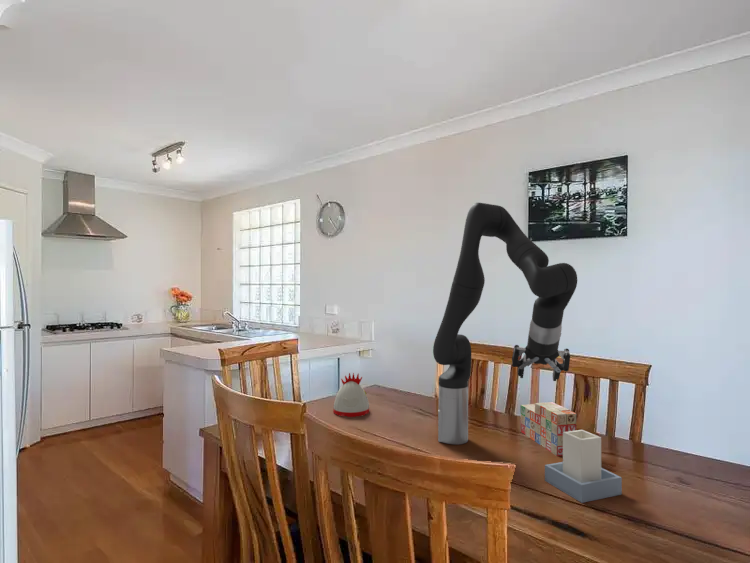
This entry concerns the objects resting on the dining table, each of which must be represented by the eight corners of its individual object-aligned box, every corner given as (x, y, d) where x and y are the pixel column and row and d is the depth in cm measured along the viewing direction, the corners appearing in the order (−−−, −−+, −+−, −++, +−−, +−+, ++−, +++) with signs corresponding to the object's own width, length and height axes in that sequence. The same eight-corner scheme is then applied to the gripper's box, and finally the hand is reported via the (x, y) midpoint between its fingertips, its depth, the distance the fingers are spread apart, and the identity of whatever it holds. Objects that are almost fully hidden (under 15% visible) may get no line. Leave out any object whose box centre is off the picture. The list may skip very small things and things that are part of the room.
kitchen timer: (368, 417, 166) (368, 376, 166) (331, 417, 167) (331, 376, 167) (369, 406, 180) (369, 369, 180) (335, 406, 180) (335, 369, 181)
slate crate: (581, 502, 101) (581, 485, 101) (544, 480, 113) (544, 464, 113) (621, 494, 105) (621, 477, 105) (582, 473, 117) (582, 458, 117)
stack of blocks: (520, 432, 150) (520, 395, 150) (537, 431, 151) (537, 394, 151) (557, 456, 129) (557, 413, 129) (576, 455, 130) (576, 412, 130)
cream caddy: (581, 491, 105) (581, 440, 105) (562, 480, 111) (562, 432, 111) (601, 487, 107) (601, 437, 107) (582, 477, 113) (582, 429, 113)
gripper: (572, 325, 115) (563, 369, 124) (514, 321, 118) (510, 365, 128) (576, 345, 109) (566, 390, 118) (515, 341, 112) (510, 385, 122)
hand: (537, 377), depth 123 cm, fingers open, 8 cm apart
